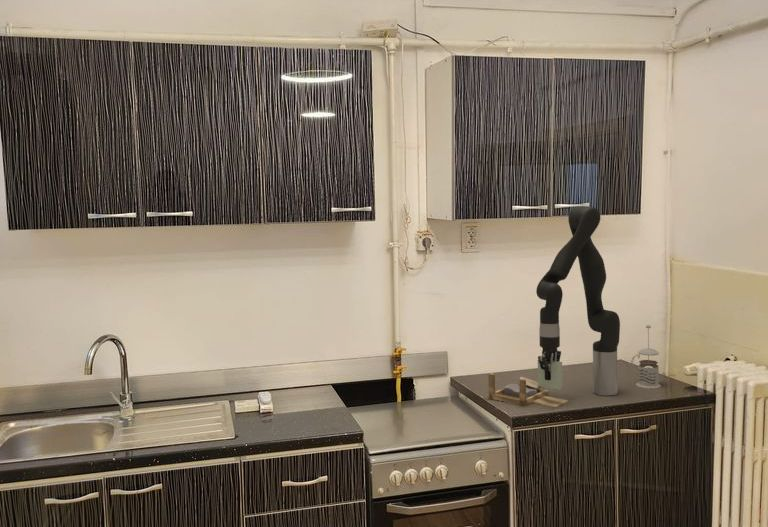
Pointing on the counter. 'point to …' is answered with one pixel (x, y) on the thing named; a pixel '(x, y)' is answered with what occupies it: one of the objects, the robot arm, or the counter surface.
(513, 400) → the oak rack
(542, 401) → the slatted wooden panel
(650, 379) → the french press
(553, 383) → the sage board
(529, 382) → the birch offcut
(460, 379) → the counter surface
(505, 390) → the stone block
